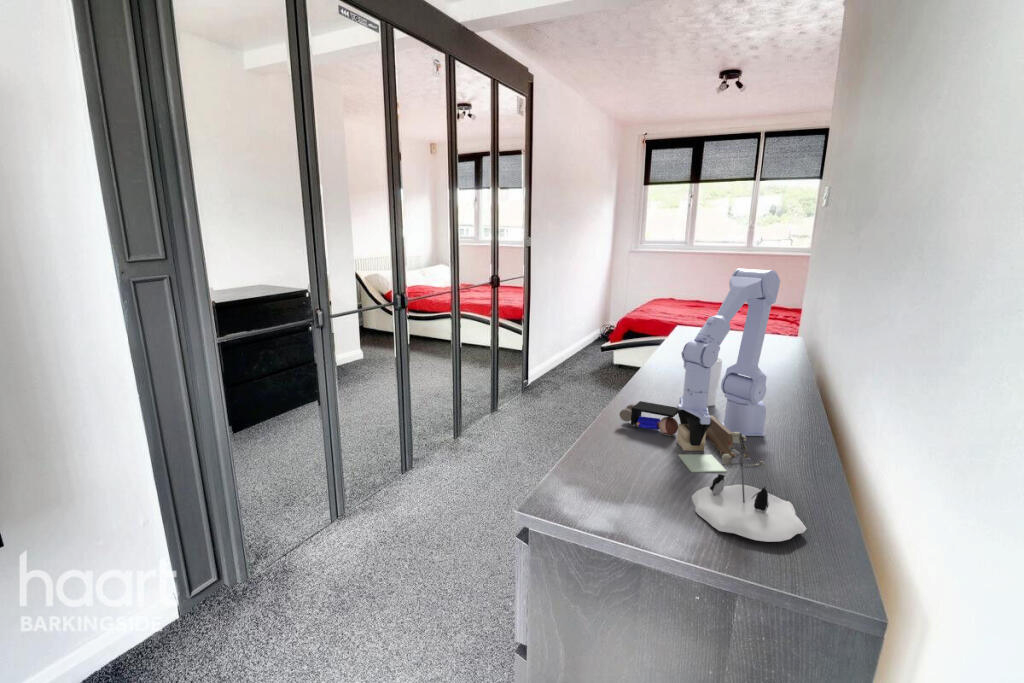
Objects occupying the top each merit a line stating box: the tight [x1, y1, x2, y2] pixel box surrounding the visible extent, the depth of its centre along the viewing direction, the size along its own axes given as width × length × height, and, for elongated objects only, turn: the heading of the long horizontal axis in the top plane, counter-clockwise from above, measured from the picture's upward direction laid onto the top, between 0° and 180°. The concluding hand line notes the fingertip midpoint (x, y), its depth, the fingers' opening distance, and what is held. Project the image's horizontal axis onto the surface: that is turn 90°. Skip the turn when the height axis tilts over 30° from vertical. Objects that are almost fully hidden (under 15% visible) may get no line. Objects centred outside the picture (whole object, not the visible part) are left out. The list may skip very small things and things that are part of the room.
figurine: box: [691, 432, 807, 543], centre depth 88 cm, size 20×18×16 cm
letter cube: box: [676, 423, 707, 452], centre depth 117 cm, size 5×5×5 cm
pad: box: [678, 453, 727, 473], centre depth 109 cm, size 8×8×1 cm
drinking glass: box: [707, 357, 723, 407], centre depth 147 cm, size 7×7×15 cm
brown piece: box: [705, 414, 736, 458], centre depth 117 cm, size 3×12×6 cm, turn 0°
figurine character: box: [619, 400, 679, 437], centre depth 127 cm, size 7×8×15 cm
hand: (690, 440), depth 118 cm, fingers closed on letter cube, 5 cm apart
